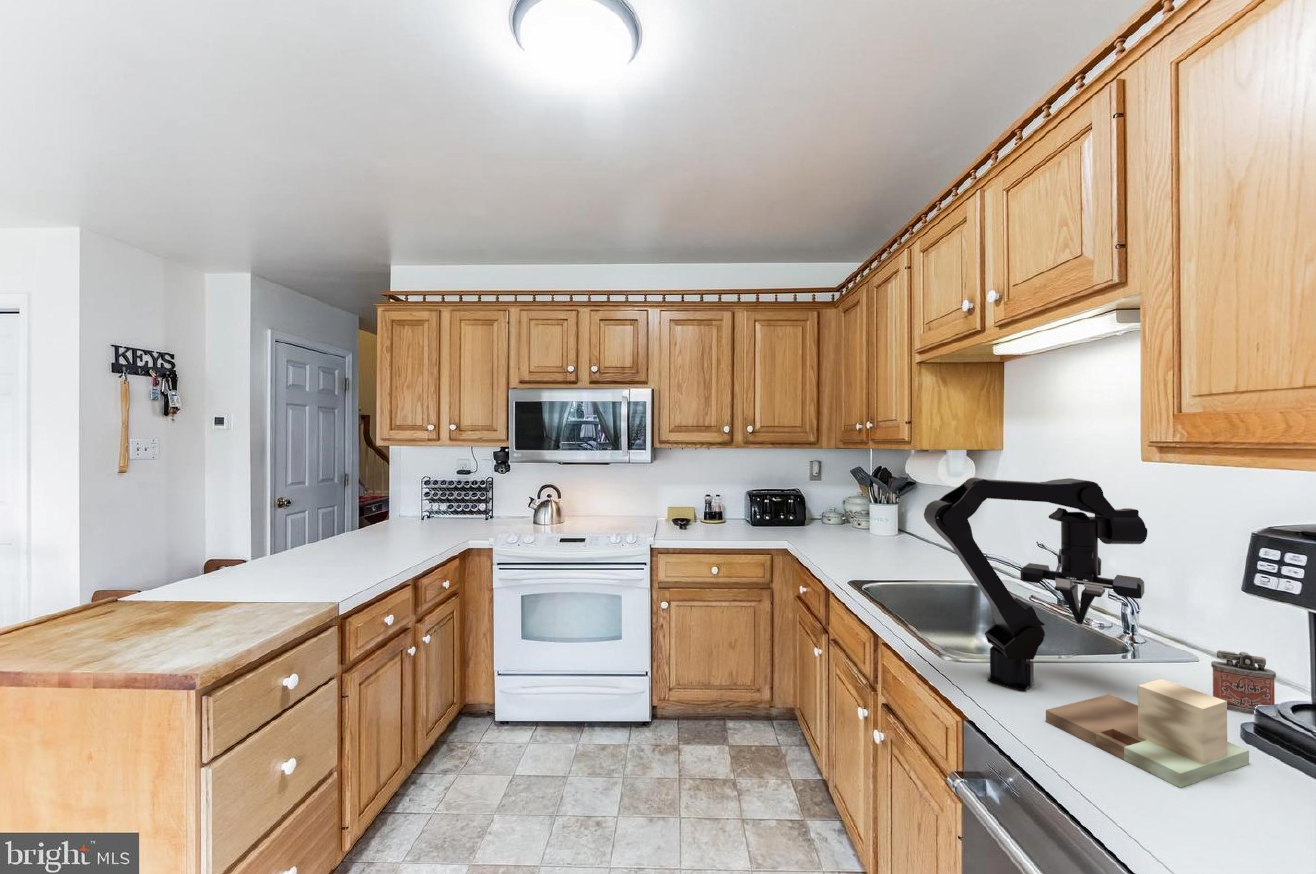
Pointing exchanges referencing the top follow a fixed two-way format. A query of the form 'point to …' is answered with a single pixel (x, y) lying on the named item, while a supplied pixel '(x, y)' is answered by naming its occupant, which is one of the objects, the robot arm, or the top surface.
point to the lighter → (1243, 681)
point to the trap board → (1136, 740)
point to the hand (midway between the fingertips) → (1080, 623)
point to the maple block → (1183, 720)
